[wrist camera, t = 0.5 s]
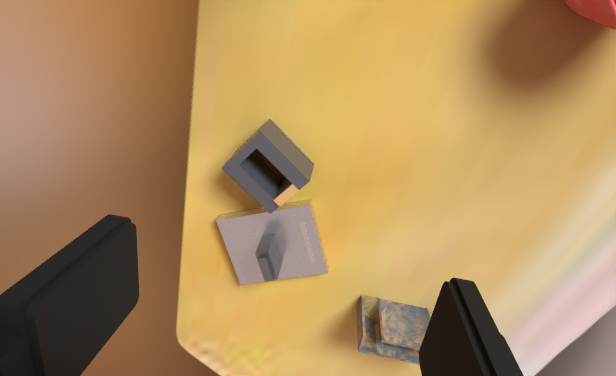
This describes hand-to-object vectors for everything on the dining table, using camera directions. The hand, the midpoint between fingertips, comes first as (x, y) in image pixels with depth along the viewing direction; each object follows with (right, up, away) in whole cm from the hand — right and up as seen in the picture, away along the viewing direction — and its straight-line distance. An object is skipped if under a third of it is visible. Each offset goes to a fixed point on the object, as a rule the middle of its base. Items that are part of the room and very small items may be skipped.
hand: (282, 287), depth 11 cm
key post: (-3, -4, +37) cm, 37 cm away
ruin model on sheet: (+13, -13, +40) cm, 44 cm away
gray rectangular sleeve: (-3, +6, +32) cm, 33 cm away
